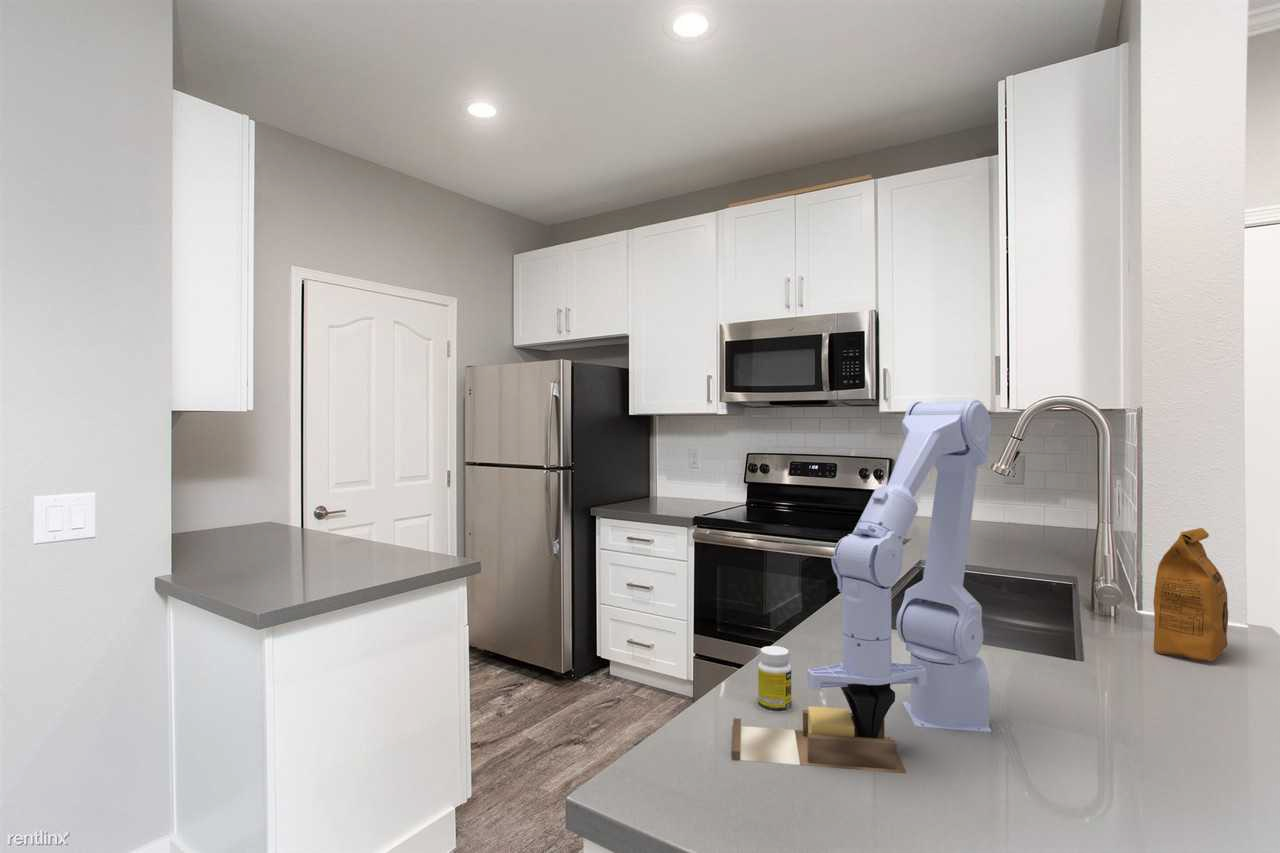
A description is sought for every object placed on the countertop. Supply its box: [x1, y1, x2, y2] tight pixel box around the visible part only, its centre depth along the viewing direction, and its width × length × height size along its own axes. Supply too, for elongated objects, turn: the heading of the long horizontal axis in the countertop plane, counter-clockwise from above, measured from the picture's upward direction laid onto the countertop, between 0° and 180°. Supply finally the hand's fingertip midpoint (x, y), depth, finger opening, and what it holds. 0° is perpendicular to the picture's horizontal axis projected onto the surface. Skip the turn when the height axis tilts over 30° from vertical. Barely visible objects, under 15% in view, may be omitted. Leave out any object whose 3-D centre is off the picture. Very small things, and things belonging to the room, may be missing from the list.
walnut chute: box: [731, 709, 908, 774], centre depth 82 cm, size 20×9×4 cm, turn 81°
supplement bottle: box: [757, 645, 792, 714], centre depth 94 cm, size 5×5×8 cm
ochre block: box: [807, 706, 854, 737], centre depth 81 cm, size 5×5×4 cm
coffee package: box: [1153, 527, 1229, 662], centre depth 117 cm, size 10×12×22 cm
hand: (866, 744), depth 81 cm, fingers closed
